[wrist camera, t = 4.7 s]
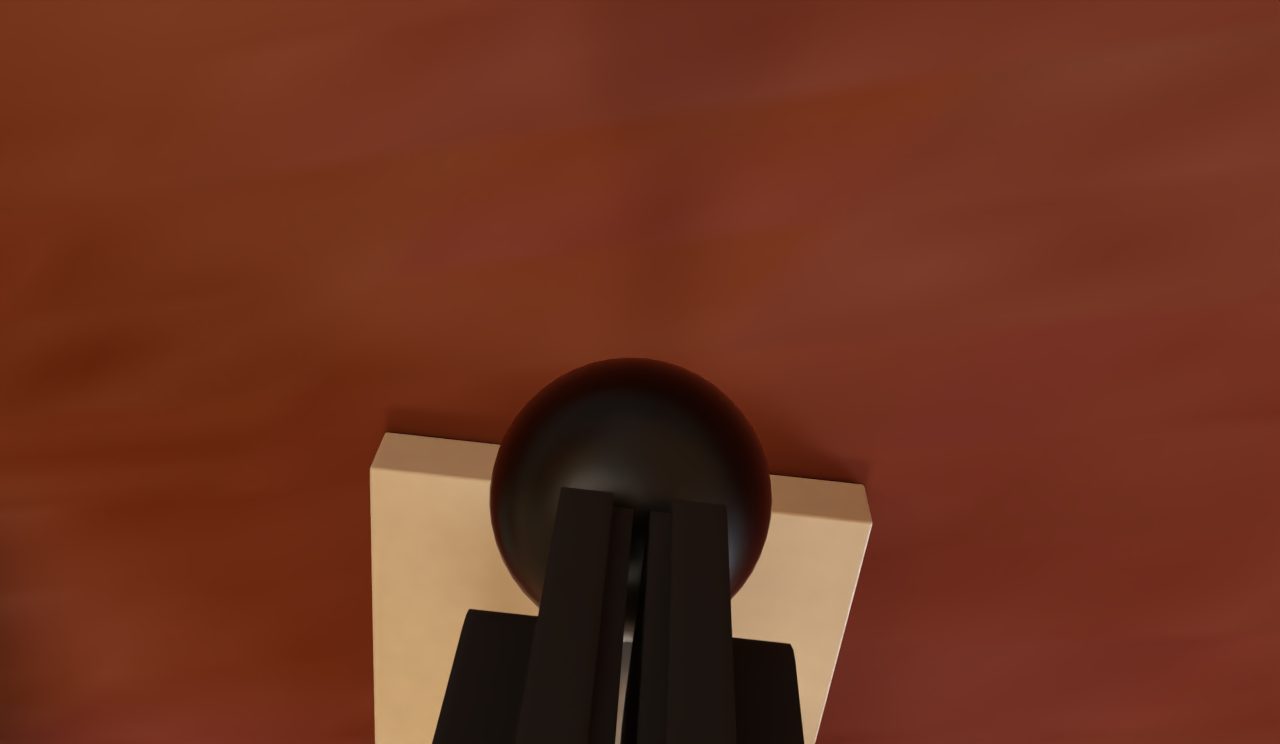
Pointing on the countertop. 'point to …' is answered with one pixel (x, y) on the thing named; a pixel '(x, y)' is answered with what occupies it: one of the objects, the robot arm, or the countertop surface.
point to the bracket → (478, 579)
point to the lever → (628, 468)
